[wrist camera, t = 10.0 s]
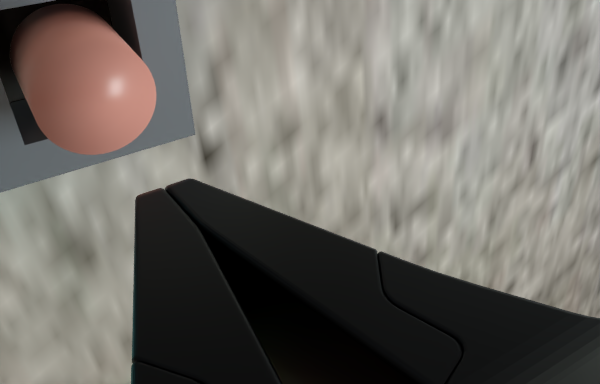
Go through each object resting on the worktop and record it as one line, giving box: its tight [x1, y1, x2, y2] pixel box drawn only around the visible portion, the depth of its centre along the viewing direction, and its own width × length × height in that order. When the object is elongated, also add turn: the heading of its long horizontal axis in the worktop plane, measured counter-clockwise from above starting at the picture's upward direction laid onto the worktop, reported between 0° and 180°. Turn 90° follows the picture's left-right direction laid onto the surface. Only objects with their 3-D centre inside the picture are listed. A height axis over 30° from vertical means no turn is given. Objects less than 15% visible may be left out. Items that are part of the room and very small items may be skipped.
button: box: [10, 4, 156, 155], centre depth 12 cm, size 2×2×3 cm
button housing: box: [0, 0, 195, 192], centre depth 13 cm, size 5×5×2 cm
